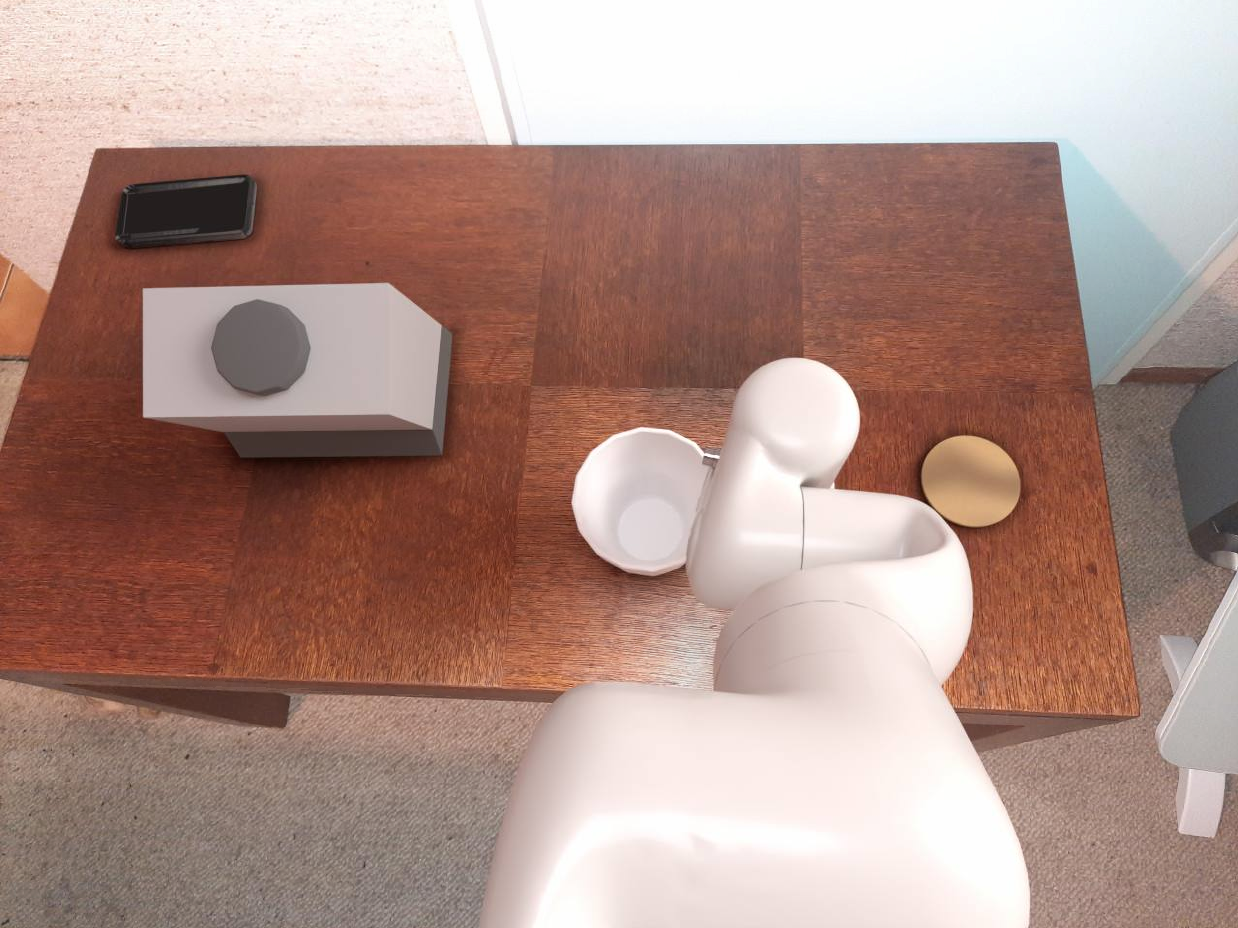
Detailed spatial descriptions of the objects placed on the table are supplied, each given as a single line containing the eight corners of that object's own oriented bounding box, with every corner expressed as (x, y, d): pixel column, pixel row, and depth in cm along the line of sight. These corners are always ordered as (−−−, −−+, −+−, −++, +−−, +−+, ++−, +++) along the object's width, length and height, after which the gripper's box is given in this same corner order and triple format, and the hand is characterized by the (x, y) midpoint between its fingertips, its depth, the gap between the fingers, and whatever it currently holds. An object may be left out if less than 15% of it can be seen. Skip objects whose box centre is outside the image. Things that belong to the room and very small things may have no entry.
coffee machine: (452, 334, 89) (392, 215, 70) (440, 478, 84) (371, 391, 64) (260, 337, 90) (150, 222, 71) (236, 479, 85) (110, 395, 66)
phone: (123, 185, 96) (253, 173, 96) (129, 191, 97) (258, 179, 97) (113, 244, 94) (247, 233, 93) (119, 250, 95) (252, 239, 94)
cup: (732, 490, 81) (741, 450, 71) (694, 615, 78) (697, 591, 67) (609, 454, 83) (600, 409, 73) (566, 573, 80) (549, 544, 69)
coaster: (1032, 517, 79) (1034, 516, 78) (937, 536, 79) (938, 534, 78) (1000, 428, 82) (1002, 427, 81) (908, 446, 82) (909, 445, 81)
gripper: (659, 499, 60) (662, 558, 78) (872, 550, 58) (826, 599, 76) (684, 404, 63) (682, 481, 80) (890, 450, 61) (842, 519, 78)
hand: (752, 538), depth 78 cm, fingers closed
